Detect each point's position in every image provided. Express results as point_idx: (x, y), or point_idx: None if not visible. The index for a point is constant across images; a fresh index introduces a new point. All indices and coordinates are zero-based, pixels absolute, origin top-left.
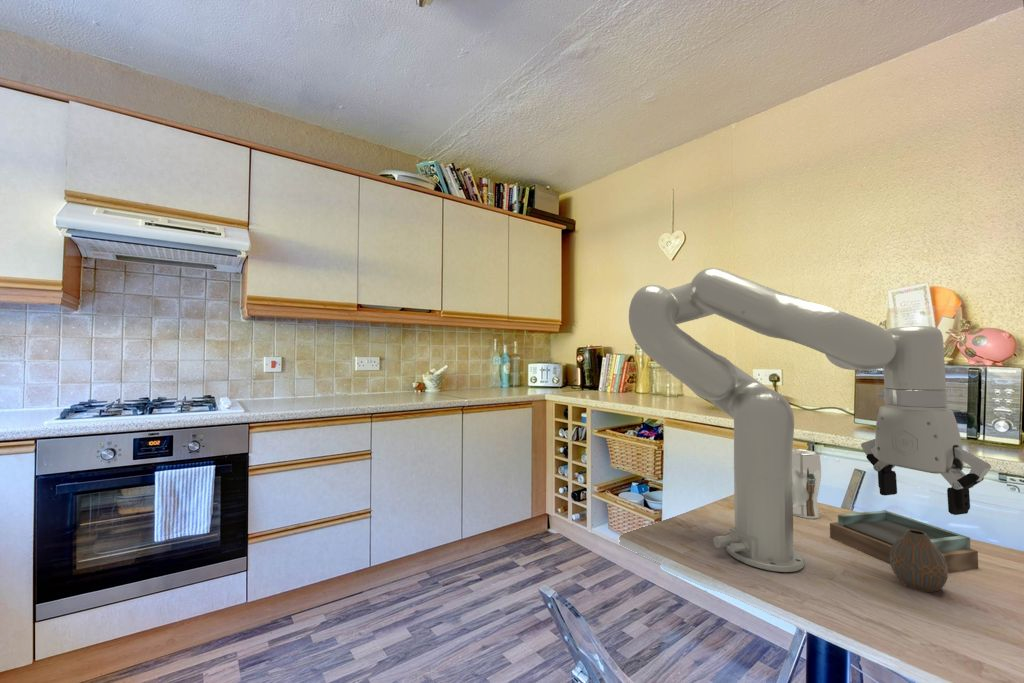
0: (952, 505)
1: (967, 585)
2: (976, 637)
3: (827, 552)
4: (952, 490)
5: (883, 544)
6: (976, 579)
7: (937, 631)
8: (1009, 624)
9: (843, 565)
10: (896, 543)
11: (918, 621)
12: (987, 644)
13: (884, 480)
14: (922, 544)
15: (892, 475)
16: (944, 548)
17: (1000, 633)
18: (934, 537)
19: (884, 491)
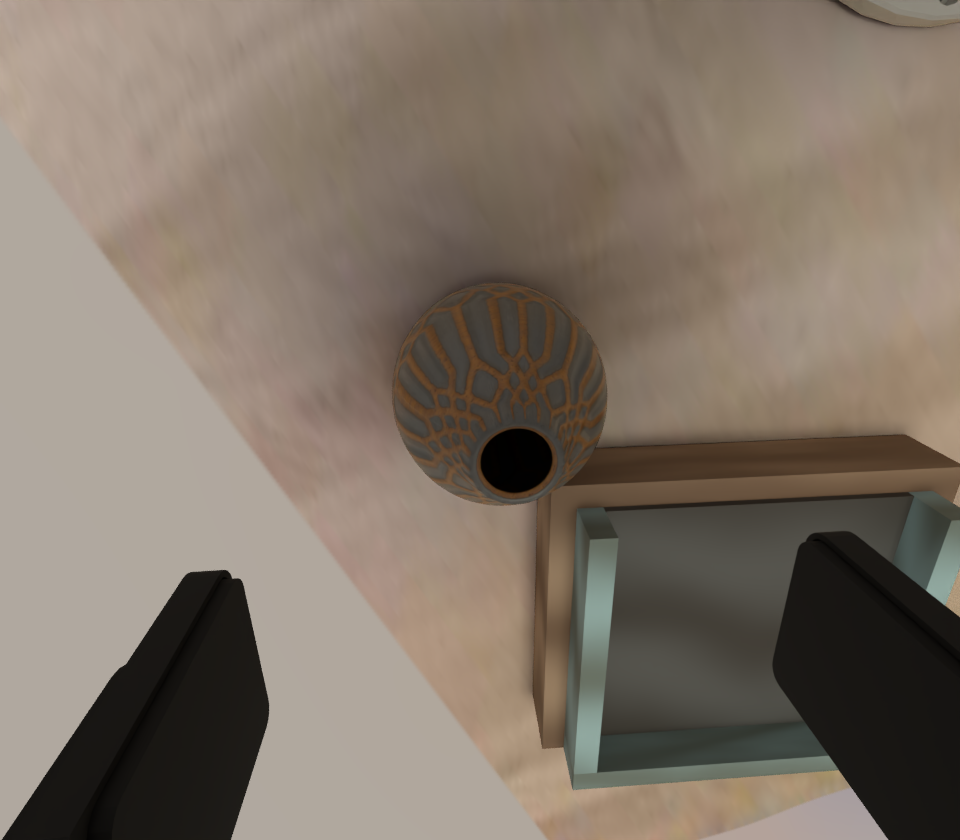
0: (155, 628)
1: (454, 542)
2: (140, 145)
3: (824, 267)
4: (36, 817)
5: (705, 478)
6: (479, 613)
7: (179, 8)
8: (221, 388)
9: (711, 208)
10: (567, 352)
11: (254, 9)
12: (95, 131)
13: (928, 664)
14: (456, 404)
15: (934, 832)
16: (572, 650)
17: (167, 283)
18: (662, 723)
19: (827, 557)
